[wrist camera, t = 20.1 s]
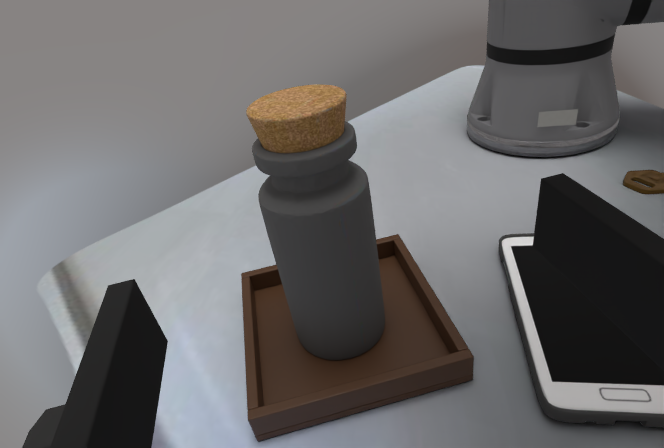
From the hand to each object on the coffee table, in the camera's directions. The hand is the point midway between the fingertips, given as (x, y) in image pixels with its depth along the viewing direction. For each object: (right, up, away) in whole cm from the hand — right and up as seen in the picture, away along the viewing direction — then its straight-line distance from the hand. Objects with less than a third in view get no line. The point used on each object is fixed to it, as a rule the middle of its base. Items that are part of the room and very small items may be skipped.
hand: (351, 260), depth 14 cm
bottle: (0, -6, +14) cm, 15 cm away
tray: (0, -6, +15) cm, 16 cm away
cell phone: (+15, -5, +13) cm, 20 cm away
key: (+29, +5, +24) cm, 37 cm away
